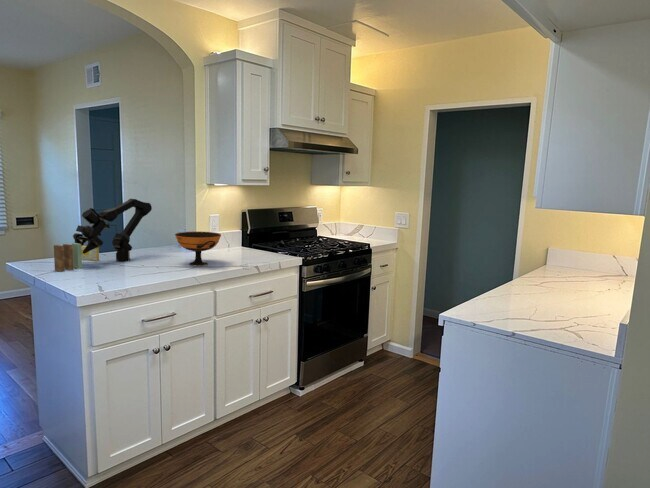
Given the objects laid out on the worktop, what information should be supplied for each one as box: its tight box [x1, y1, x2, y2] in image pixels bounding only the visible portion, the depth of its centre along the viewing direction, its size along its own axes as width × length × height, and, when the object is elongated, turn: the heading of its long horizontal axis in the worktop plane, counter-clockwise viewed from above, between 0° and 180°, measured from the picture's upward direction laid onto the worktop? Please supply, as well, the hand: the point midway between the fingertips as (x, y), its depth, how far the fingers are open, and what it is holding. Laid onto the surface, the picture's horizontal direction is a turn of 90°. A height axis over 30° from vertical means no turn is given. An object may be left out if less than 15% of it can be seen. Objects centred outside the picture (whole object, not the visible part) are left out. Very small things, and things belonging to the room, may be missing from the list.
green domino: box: [71, 242, 83, 270], centre depth 238 cm, size 2×5×13 cm, turn 61°
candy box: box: [81, 245, 100, 262], centre depth 260 cm, size 16×2×8 cm, turn 84°
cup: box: [174, 231, 222, 267], centre depth 261 cm, size 36×26×18 cm
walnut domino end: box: [53, 244, 65, 272], centre depth 230 cm, size 2×5×13 cm, turn 61°
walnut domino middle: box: [62, 243, 74, 271], centre depth 234 cm, size 2×5×13 cm, turn 61°
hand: (77, 252), depth 239 cm, fingers open, 9 cm apart
